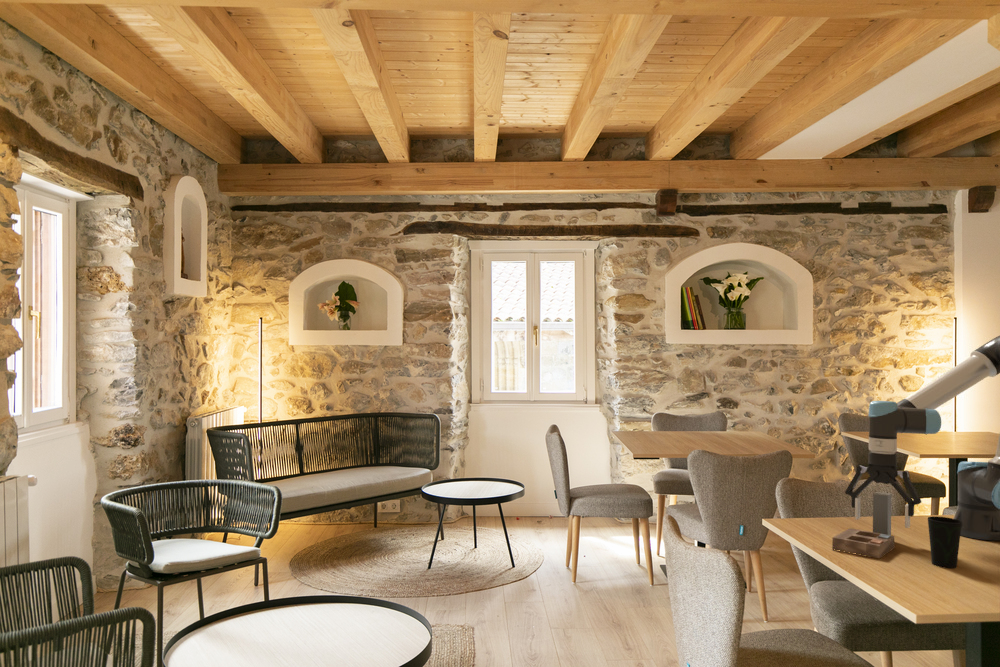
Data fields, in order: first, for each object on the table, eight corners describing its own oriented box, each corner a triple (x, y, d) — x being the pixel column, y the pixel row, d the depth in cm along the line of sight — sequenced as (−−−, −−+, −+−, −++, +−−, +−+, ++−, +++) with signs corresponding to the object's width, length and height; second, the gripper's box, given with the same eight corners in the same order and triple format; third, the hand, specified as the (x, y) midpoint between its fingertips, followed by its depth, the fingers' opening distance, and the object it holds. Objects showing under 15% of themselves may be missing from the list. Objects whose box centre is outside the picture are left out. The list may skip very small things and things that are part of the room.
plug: (890, 540, 211) (891, 493, 212) (887, 543, 208) (887, 495, 209) (876, 538, 214) (876, 491, 215) (872, 540, 211) (873, 493, 212)
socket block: (894, 548, 203) (894, 534, 203) (879, 558, 191) (879, 544, 191) (849, 539, 211) (849, 526, 211) (832, 549, 199) (832, 536, 199)
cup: (950, 570, 181) (950, 524, 182) (921, 562, 188) (921, 517, 189) (967, 567, 185) (967, 521, 185) (938, 559, 192) (938, 515, 192)
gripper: (834, 448, 218) (834, 517, 217) (927, 458, 201) (926, 532, 200) (842, 446, 223) (841, 513, 223) (932, 455, 206) (932, 528, 206)
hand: (881, 523), depth 211 cm, fingers open, 13 cm apart
